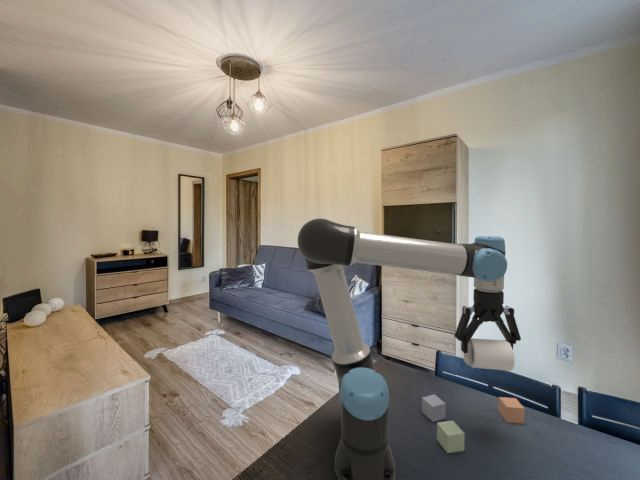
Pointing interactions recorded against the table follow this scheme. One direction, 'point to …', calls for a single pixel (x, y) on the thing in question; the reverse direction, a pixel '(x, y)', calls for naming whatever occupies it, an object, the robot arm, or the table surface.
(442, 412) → the slate block
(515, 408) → the terracotta block
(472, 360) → the mug
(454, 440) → the sage block
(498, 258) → the robot arm
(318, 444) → the table surface
